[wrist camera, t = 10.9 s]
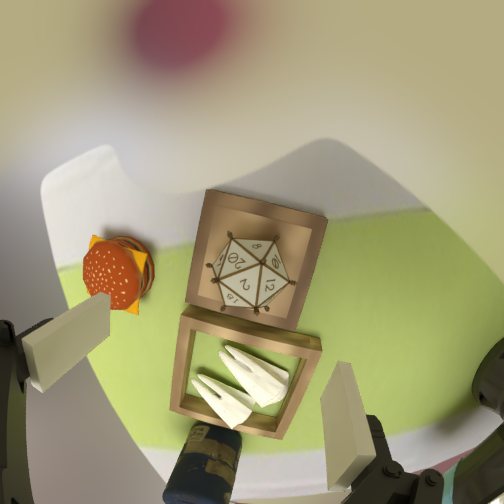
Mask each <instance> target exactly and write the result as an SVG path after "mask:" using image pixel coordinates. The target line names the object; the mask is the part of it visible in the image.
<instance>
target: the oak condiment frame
mask: <svg viewBox="0 0 504 504" xmlns="http://www.w3.org/2000/svg"><path fill="white" fill-rule="evenodd" d="M196 331H200V332H203V333H206V334H210V335H213V336H216V337H220V338H223V339H227V340H231V341H234V342H238V343H242V344H245V345H249V346H253V347H257V348H261V349H265V350H269V351H273V352H278V353H282V354H286V355H291V356H295V357H300V358H301V360H300V362H299V365H298V368H297V370H296V373H295V375H294V378H293V380H292V383H291V385H290V388H289V390H288V392H287V395H286V397H285V400H284V402H283V404H282V407H281V409H280V411H279V414H278V416H277V418H276V417H271V416H266V415H262V414H257V413H253V412H251V414H250V416H249V417H248V418H247V419H246V420H245V421H244V422H243V423H241V424H237V425H236V426H235V427H233V430H237V431H241V432H246V433H250V434H255V435H259V436H264V437H269V438H274V439H280V440H282V439H283V437H284V435H285V433H286V431H287V429H288V427H289V425H290V423H291V421H292V419H293V417H294V415H295V413H296V411H297V409H298V407H299V405H300V402H301V400H302V398H303V396H304V394H305V392H306V389H307V387H308V385H309V383H310V380H311V378H312V376H313V373H314V371H315V369H316V366H317V364H318V362H319V359H320V357H321V354H322V346H321V341H320V338H316V337H312V336H307V335H303V334H298V333H294V332H290V331H285V330H281V329H277V328H273V327H269V326H265V325H261V324H257V323H253V322H250V321H246V320H242V319H238V318H235V317H231V316H227V315H224V314H220V313H217V312H213V311H210V310H206V309H203V308H199V307H196V306H193V305H189V306H188V307H187V308H186V309H185V311H184V312H183V313H182V314H181V317H180V324H179V331H178V338H177V346H176V354H175V362H174V370H173V379H172V388H171V398H170V408H169V410H171V411H174V412H176V413H179V414H182V415H185V416H188V417H191V418H194V419H198V420H201V421H204V422H208V423H211V424H215V425H218V426H222V427H226V428H229V429H231V428H230V427H229V426H228V425H227V424H226V423H225V422H224V420H223V419H222V418H221V417H220V416H219V415H218V414H217V413H216V412H215V411H214V410H213V409H212V407H211V406H210V405H209V404H208V403H207V402H206V400H204V399H201V398H198V397H195V396H191V395H188V394H186V390H187V383H188V376H189V370H190V364H191V357H192V351H193V345H194V339H195V333H196Z"/></svg>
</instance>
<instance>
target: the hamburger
mask: <svg viewBox="0 0 504 504" xmlns="http://www.w3.org/2000/svg"><path fill="white" fill-rule="evenodd" d="M153 279H154V264H153V261H152V259H151V256H150V254H149V252H148V251H147V250H146V248H145V247H144V246H143V245H142V244H141V243H140V242H138V241H137V240H135V239H133V238H131V237H121V236H119V237H116V238H114V239H109V240H104V239H102V238H100V237H97V236H95V235H92V238H91V241H90V246H89V251H88V253H87V254H86V256H85V257H84V258H83V280H84V282H85V285H86V288H87V293H88V294H90V295H91V297H92V296H94V295H96V294H98V293H99V292H102V293H105V294H107V295H110V296H111V302H110V310H124V311H127V312H130V313H133V314H136V315H139V310H138V308H139V298H140V297H142V296H143V295H144V294H145V293H146V292H147V291H148V290H149V289H150V288H151V285H152V282H153Z"/></svg>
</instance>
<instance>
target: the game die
mask: <svg viewBox="0 0 504 504" xmlns="http://www.w3.org/2000/svg"><path fill="white" fill-rule="evenodd" d="M227 236H228V237H229V238H230V240H229V242H228V243H227V245H226V246H225V248H224V249H223V251H222V252H221V253H220V255H219V256H218V258H217V259H216V261H215V262H214V263H213V265H212V264H211V263H207V264H205V266H206V267H207V268H212V270H213V273H214V276H215V278H212V279H211V281H210V282H212V283H213V284H215V283H217V285H218V288H219V291H220V294H221V297H222V300H223V303H224V305H223V306H221V308H220V312H223V311H225V309H226V307H237V308H249V309H254V314H255V315H256V316H258V315H259V314H260V313H259V309H258V308H262V307H264V309H265V311H267V312H269V309H270V308H269V306H267V305H268V304H269V303H270V302H271V301H272V300H273V299H274V298H275V297H276V296H277V295H278V294H279V293H280V292H281V291H282V290H283V289H284V288H285V287H286V286H287V285H288V284H291V285H297V284H298V283H297V282H296V281H293V280H292V281H290V280H289V277H288V274H287V272H286V269H285V266H284V263H283V261H282V258H281V255H280V253H279V250H278V247H277V245H276V241H278V240H279V239H280V234H278V235H275V237H274V239H273V240H261V239H246V238H233V234H232V232H230V231H227Z"/></svg>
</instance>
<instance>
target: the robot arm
mask: <svg viewBox="0 0 504 504" xmlns="http://www.w3.org/2000/svg"><path fill="white" fill-rule="evenodd" d="M110 302H111V296H110V295H107V294H105V293H102V292H99V293H98V294H96V295H94V296H92V297H91V298H89V299H87V300H85V301H84V302H82V303H80V304H78V305H77V306H75V307H73V308H72V309H70V310H68V311H67V312H65V313H63V314H61V315H60V316H58V317H57V318H55V319H54V318H49V319H45V320H43V321H41V322H39V323H38V324H37V325H34V326H32V328H29V329H27V330H26V331H24V332H22V333H21V334H19V335H17V336H15V331H14V325H13V324H12V323H11V322H10V321H7V320H0V504H34V501H33V497H32V491H31V485H30V478H29V469H28V460H27V445H26V386H27V385H26V379H27V378H28V377H30V379H31V383H32V386H34V387H35V388H37V389H38V390H39V391H41V392H42V393H43V392H44V391H45V390H46V389H48V388H49V387H50V386H51V385H52V384H53V383H55V382H56V381H57V380H58V379H59V378H60V377H62V376H63V375H64V374H65V373H66V372H67V371H68V370H70V369H71V368H72V367H73V366H74V365H75V364H77V363H78V362H79V361H80V360H81V359H82V358H84V357H85V356H86V355H87V354H88V353H90V352H91V351H92V350H93V349H94V348H95V347H97V346H98V345H99V344H100V343H101V342H103V341H104V340H105V339H106V338H107V337H109V336H110ZM472 393H473V396H474V397H475V399H476V400H477V401H478V403H479V404H480V405H482V406H484V407H486V408H488V409H489V410H491V411H493V412H495V413H497V414H499V415H500V416H501V418H502V419H503V420H504V339H502V340H501V341H500V342H499V343H498V344H497V345H496V346H495V347H494V348H493V349H492V350H491V351H490V352H489V353H488V355H487V356H486V357H485V359H484V360H483V362H482V364H481V365H480V367H479V369H478V371H477V373H476V375H475V378H474V381H473V386H472ZM320 400H321V409H322V419H323V430H324V441H325V453H326V467H327V482H328V491H345V490H346V489H347V488H348V487H349V486H350V485H351V489H352V492H351V493H350V494H349V495H348V496H347V497H346V498H345V499H344V500H343V501H342V502H341V504H504V422H503V423H502V424H501V425H500V426H499V427H498V428H497V429H496V430H495V431H494V432H493V433H491V434H490V435H489V436H488V437H487V438H486V439H485V440H484V441H483V442H481V443H480V444H479V445H478V446H477V447H476V448H474V449H473V450H472V451H471V452H470V453H469V454H467V455H466V456H465V457H463V458H461V459H460V460H459V461H458V462H457V463H456V464H455V465H454V466H453V467H451V468H450V469H449V470H448V471H447V472H445V473H444V475H443V476H442V474H440V473H439V472H438V471H436V470H434V469H426V470H425V471H423V472H422V473H421V474H420V475H416V474H411V473H407V472H404V469H403V468H402V466H401V465H400V464H399V463H398V462H396V461H393V460H392V457H391V454H390V451H389V447H388V444H387V441H386V438H385V434H384V432H383V428H382V425H381V422H380V421H379V420H378V419H377V417H376V416H375V415H366V414H365V410H364V407H363V403H362V400H361V396H360V393H359V389H358V386H357V383H356V379H355V376H354V373H353V370H352V366H351V363H345V362H340V361H338V362H337V364H336V366H335V368H334V371H333V373H332V375H331V377H330V379H329V381H328V384H327V386H326V388H325V390H324V392H323V394H322V396H321V398H320Z"/></svg>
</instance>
